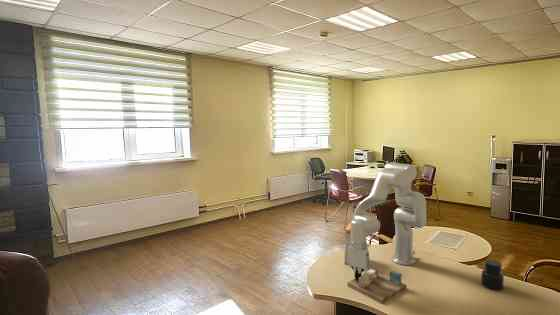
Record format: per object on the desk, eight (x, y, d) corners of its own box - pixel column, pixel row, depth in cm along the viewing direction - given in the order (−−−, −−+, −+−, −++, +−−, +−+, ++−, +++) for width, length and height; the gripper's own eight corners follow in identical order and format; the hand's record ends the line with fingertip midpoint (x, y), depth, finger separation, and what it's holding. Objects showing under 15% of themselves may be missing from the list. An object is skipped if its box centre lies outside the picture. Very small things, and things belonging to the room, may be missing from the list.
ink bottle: (500, 283, 155) (501, 260, 154) (507, 292, 147) (508, 268, 145) (478, 280, 158) (479, 257, 157) (483, 289, 150) (484, 265, 149)
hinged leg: (372, 273, 163) (372, 266, 162) (378, 275, 161) (378, 268, 160) (358, 285, 152) (358, 278, 151) (364, 288, 149) (364, 280, 149)
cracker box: (354, 265, 178) (354, 230, 175) (344, 264, 180) (344, 229, 178) (359, 256, 190) (359, 222, 188) (349, 254, 193) (349, 221, 190)
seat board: (372, 273, 168) (372, 261, 167) (406, 288, 152) (406, 275, 151) (347, 286, 156) (347, 272, 155) (382, 303, 140) (382, 289, 139)
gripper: (375, 245, 153) (375, 280, 154) (347, 239, 161) (347, 272, 163) (370, 250, 147) (369, 287, 148) (341, 243, 155) (341, 278, 157)
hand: (358, 279), depth 156 cm, fingers closed
